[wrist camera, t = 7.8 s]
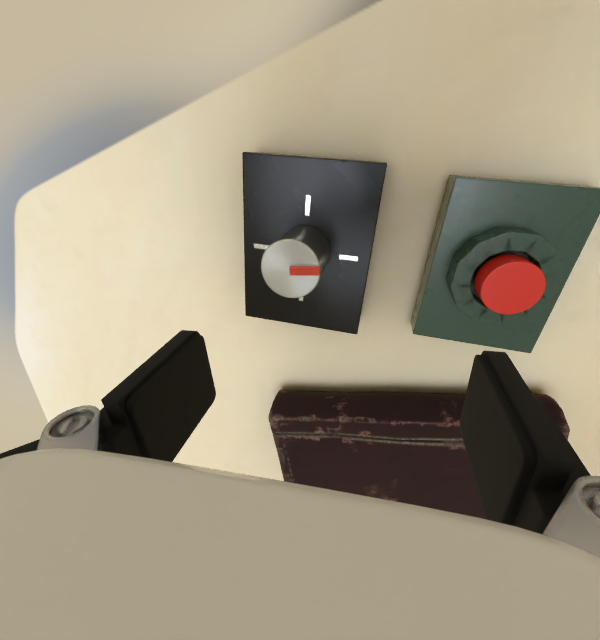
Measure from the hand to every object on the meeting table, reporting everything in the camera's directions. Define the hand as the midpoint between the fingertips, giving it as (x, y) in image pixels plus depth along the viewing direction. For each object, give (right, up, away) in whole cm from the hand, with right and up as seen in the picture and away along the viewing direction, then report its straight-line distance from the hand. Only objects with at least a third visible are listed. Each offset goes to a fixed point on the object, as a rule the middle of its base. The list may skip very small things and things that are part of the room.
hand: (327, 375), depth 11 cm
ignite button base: (+14, +6, +14) cm, 20 cm away
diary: (+10, -13, +24) cm, 29 cm away
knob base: (0, +9, +16) cm, 18 cm away
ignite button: (+13, +5, +10) cm, 17 cm away
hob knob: (-1, +7, +13) cm, 15 cm away
